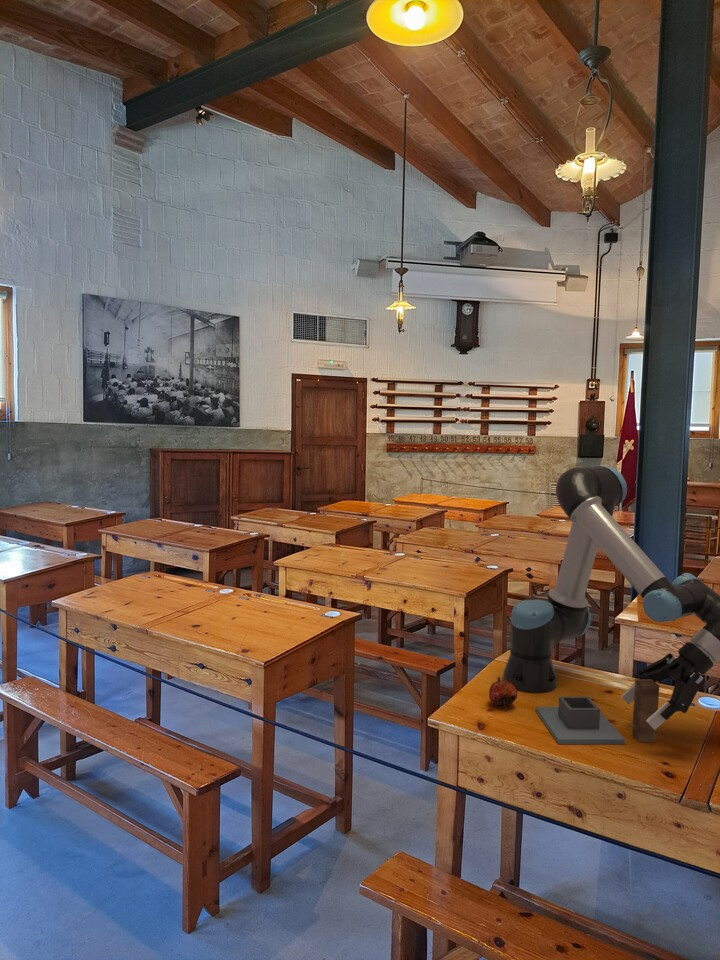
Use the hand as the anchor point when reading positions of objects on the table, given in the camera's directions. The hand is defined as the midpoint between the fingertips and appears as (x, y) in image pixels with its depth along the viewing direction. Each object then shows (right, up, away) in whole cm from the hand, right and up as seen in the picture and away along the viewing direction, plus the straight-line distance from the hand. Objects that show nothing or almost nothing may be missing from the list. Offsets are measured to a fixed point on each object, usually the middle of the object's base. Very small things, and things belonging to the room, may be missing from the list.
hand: (636, 712), depth 161 cm
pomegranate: (-29, -5, +17) cm, 34 cm away
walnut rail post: (+2, -7, +1) cm, 7 cm away
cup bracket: (-12, -6, +6) cm, 15 cm away
